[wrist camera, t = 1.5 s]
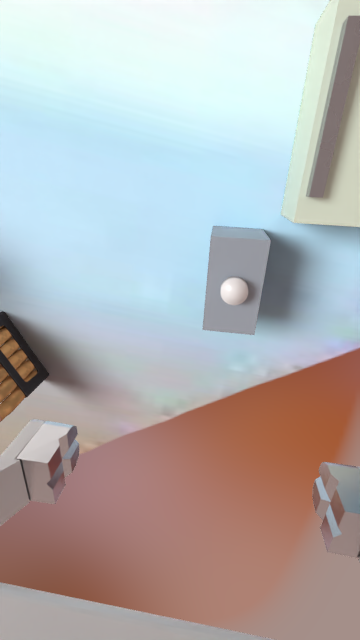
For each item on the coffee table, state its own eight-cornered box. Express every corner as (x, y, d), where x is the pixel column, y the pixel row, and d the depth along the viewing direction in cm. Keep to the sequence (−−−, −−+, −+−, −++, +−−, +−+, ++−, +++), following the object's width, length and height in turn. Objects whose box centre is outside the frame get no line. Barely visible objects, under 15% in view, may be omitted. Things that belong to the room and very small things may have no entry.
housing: (213, 225, 30) (210, 238, 24) (262, 229, 30) (272, 242, 24) (205, 306, 34) (202, 334, 28) (249, 310, 34) (255, 339, 28)
